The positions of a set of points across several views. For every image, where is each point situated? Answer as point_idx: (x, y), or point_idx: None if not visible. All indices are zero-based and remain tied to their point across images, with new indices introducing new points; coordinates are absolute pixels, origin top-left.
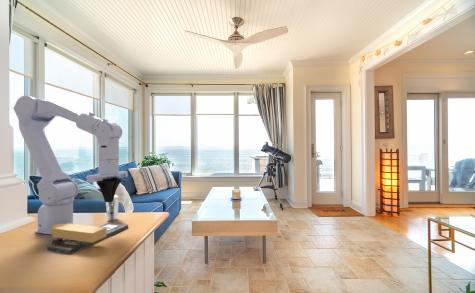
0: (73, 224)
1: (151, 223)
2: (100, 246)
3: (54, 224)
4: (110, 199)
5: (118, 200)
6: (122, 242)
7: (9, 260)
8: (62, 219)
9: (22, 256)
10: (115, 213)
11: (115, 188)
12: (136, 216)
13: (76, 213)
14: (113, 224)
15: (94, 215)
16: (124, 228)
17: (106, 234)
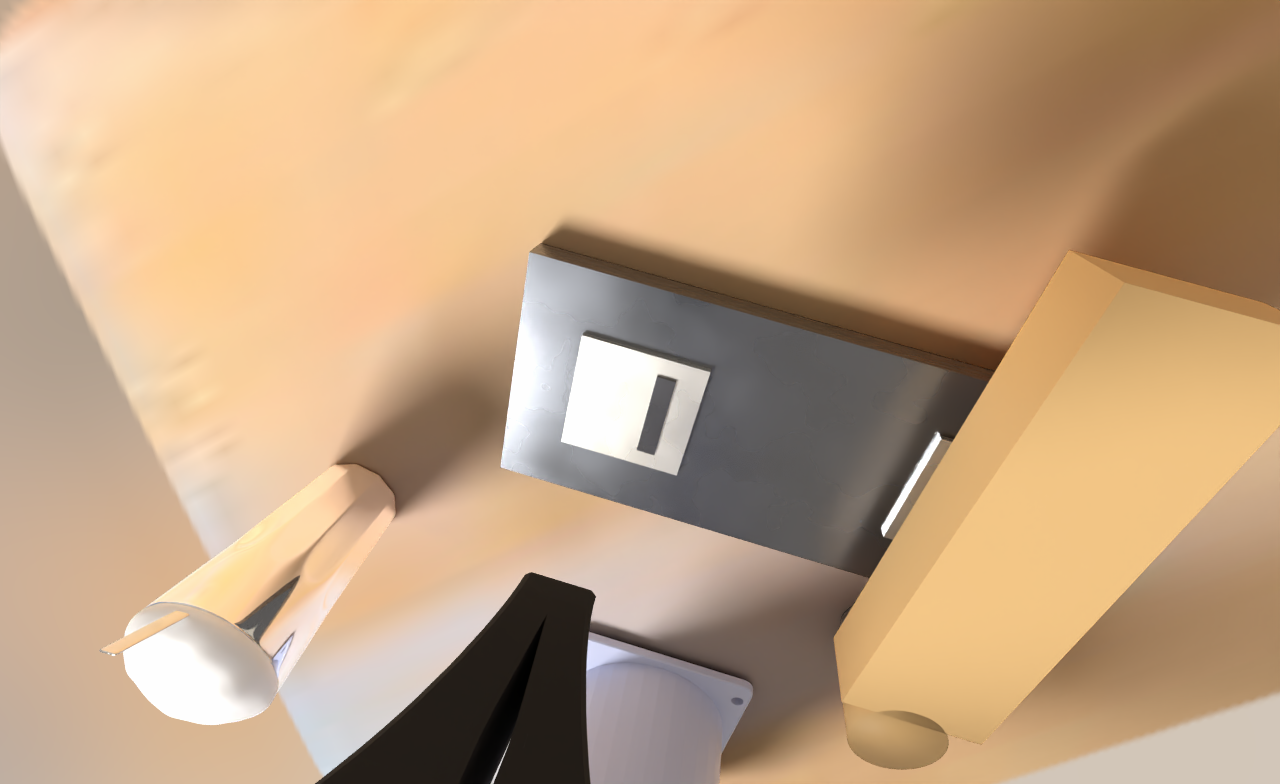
0: (884, 656)
1: (346, 17)
2: None
3: (716, 766)
4: (584, 620)
5: (192, 585)
6: (1005, 64)
7: (1175, 710)
8: (685, 769)
9: (1124, 682)
10: (327, 504)
11: (405, 773)
12: (208, 326)
13: (322, 748)
14: (538, 407)
15: (318, 647)
16: (588, 261)
17: (829, 335)
